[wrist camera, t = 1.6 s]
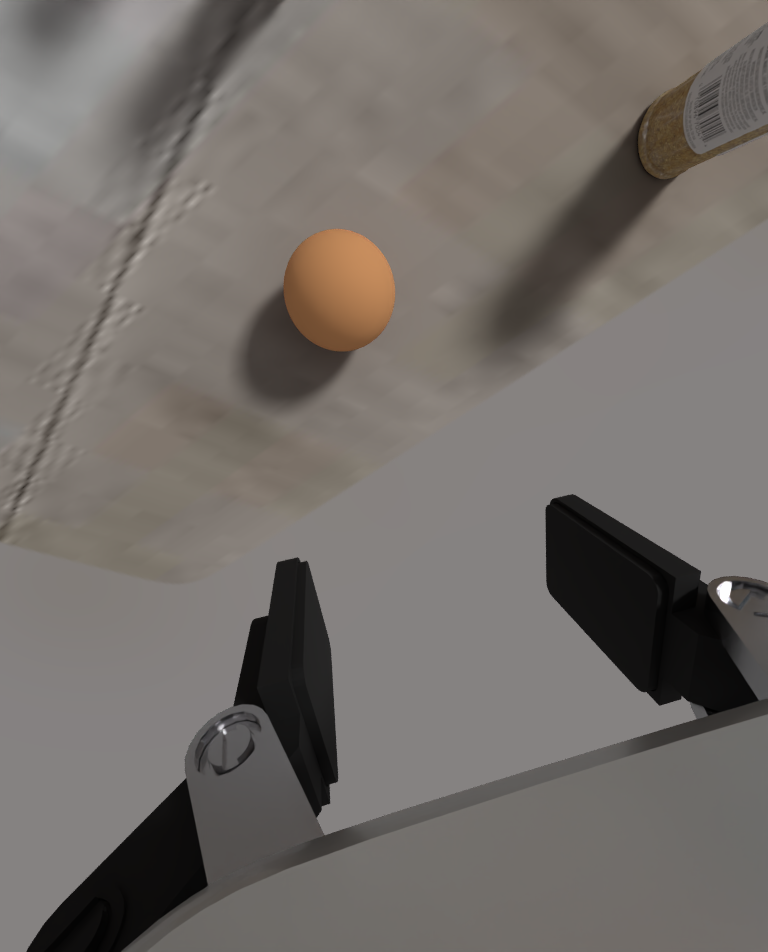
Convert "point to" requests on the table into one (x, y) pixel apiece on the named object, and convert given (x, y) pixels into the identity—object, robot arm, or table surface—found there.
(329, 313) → the ball
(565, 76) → the table surface
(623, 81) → the table surface
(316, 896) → the robot arm
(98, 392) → the table surface
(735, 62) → the sprinkles bottle
